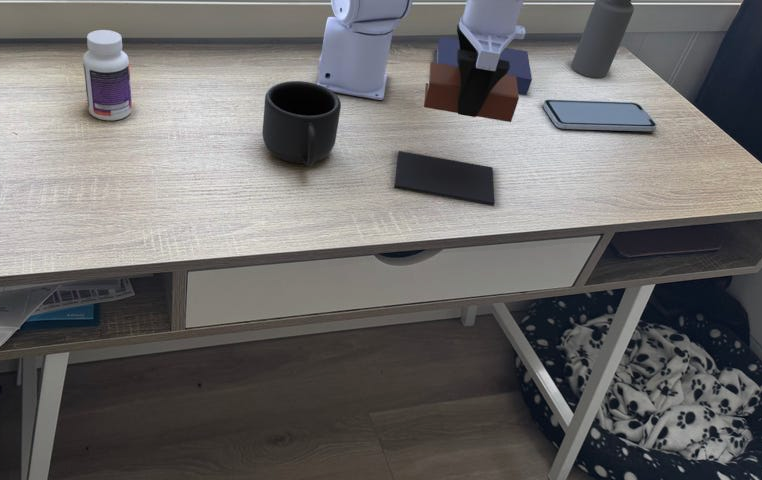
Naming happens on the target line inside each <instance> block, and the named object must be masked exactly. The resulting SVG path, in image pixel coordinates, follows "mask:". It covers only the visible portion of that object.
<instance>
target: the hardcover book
mask: <svg viewBox="0 0 762 480" xmlns="http://www.w3.org/2000/svg"><path fill="white" fill-rule="evenodd" d="M437 41H438V43H437V49H435V51H434V52H435V53H434V63H439V64H445V65H451V66H457V67H458V62H457V51H458V49H459V50H460V44H459V38H457V39H456V38H451V37H446V36H441V35H439V36H438V39H437ZM499 60H504V61H509V63H510V68H509V71H508V72H507V74H506V75H510V76H516V81H517V88H518V95H525V96H527V95H528V92H529V89H530V87H531V85H532V81H533V78H532V72H531V66H530V65H531V64H530V59H529V53H528V51H527V50H522V49H516V48H510V47H506V48H505V49H504V50H503V51H502V52H501V53H500V57H499Z"/></svg>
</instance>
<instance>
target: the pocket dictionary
mask: <svg viewBox="0 0 762 480" xmlns="http://www.w3.org/2000/svg"><path fill="white" fill-rule="evenodd" d="M428 78H429V79H428V82H425V87H424V101H423V108H425V109H430V110H438V111H442V112H448V113H455V114H458V97H459V88H460V71H459V67H457V66H451V65H445V64H439V63H435V62H433V61H431V62H430V64H429V77H428ZM519 95H520V94H518V88H517V81H516V76H510V75H505V76H504V77H502V78H501V79H500V80H499V81H498V82H497V84H496V85H495V86H494V87H493V89H492V90H491V92H490V93H489V95H488V97H487V99H486V100H485V102H484V104H483V106H482V108H481V110H480V111H479V113H478V114H477V116H476V118H477V117H478V118H484V119H489V120H496V121H502V122H506V123H512V121H513V117H514V114H515V111H516V109H517V105H518V102H519V99H520V96H519Z"/></svg>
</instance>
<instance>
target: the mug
mask: <svg viewBox="0 0 762 480" xmlns="http://www.w3.org/2000/svg"><path fill="white" fill-rule="evenodd" d="M341 103H342V102H341V99H340V97H339V96H338V95H337V93H336V92H332V91H331V90H329V89H328V88H326V87H324V86H321V85H318V83H314V82H309V81H303V80H302V81H301V80H290V81H284V82H280V83H277V84H275V85H272V86H271V87H270V88H268V90H267V91H266V93H265V96H264V107H263V117H262V118H263V119H262V120H263V121H262V139H263V142H264V144H265V147H266V149H267V150H268V151H269V152H270V153H271V154H272V155H273V156H274V157H277V158H278V159H281V160H283V161H286V162H289V163H295V164H305V166H307V167H313V166H314V164H315V163H316V162H319V161H322V160H323V159H325V158H327V156H328V155H329V154H330V152H332V150H333V149H334V147H335V144H336V140H337V134H338V128H339V122H340V121H339V120H340V114H341V109H342V105H341Z"/></svg>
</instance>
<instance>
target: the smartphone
mask: <svg viewBox="0 0 762 480" xmlns="http://www.w3.org/2000/svg"><path fill="white" fill-rule="evenodd" d="M542 107H543V109H544V110H545V112H546V114H547V115H548V117H549V118H550V120H551V121H552V123H553V124H554V126H555V127H557V128H559V129H564V130H596V131H597V130H598V131H629V132H654V131H656V130H657V127H658V124H657V122H656V121H654V119H653V118H652V117H651V115H650V114H649V113H648V112H647V111H646V110H645V108H643V106H642V105H641V104H639V103H637V102H634V101H607V100H605V101H603V100H576V99H575V100H574V99H573V100H572V99H571V100H570V99H544V100H543V103H542Z"/></svg>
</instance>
